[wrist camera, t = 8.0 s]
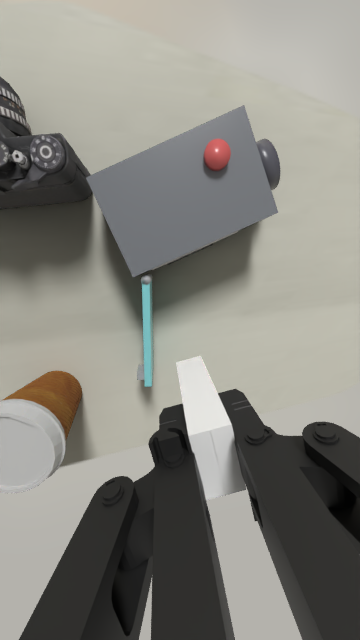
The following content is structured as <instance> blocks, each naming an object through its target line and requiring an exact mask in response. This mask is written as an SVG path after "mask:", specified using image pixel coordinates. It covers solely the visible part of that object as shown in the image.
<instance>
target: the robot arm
mask: <svg viewBox="0 0 360 640" xmlns="http://www.w3.org/2000/svg"><path fill="white" fill-rule="evenodd" d="M176 365H177V371H178V377H179V383H180V389H181V395H182V401H183V404H179V405H176V406H172V407H168V408H164V409H163V411H162V413H161V414H160V416H159V424H160V425H159V430H158V431H157V432H156V433H154V434H153V436H152V437H151V438H150V441H149V444H148V445H149V448H150V450H151V454H152V457H153V460H154V463H155V467H154V468H153V470H151V471H150V472H149V473H148V474H147V475H145V476H144V477H142V478H140V479H139V480H137V481H135V482H133V481H132V480H131V479H130V478H128V477H124V476H119V477H115V478H112V479H110V480H109V481H107V482H105V483H104V484H103V485H102V486H101V487H100V488H99V489H98V490H97V491H96V493H95V494H94V496H93V498H92V500H91V502H90V504H89V506H88V508H87V510H86V511H85V513H84V515H83V517H82V519H81V521H80V523H79V525H78V527H77V529H76V531H75V533H74V534H73V537H72V538H71V540H70V542H69V544H68V546H67V548H66V550H65V552H64V554H63V556H62V558H61V560H60V562H59V563H58V565H57V567H56V569H55V571H54V573H53V575H52V577H51V579H50V581H49V583H48V585H47V587H46V589H45V590H44V592H43V594H42V596H41V598H40V600H39V602H38V604H37V606H36V608H35V610H34V612H33V614H32V616H31V618H30V619H29V621H28V623H27V625H26V627H25V629H24V631H23V633H22V635H21V637H20V639H19V640H139V635H140V630H141V626H142V621H143V616H144V611H145V607H146V602H147V597H148V592H149V588H150V583H151V578H152V619H151V640H235V637H234V633H233V627H232V622H231V618H230V613H229V608H228V603H227V598H226V593H225V588H224V583H223V578H222V573H221V568H220V563H219V559H218V553H217V548H216V543H215V538H214V534H213V529H212V524H211V519H210V514H209V511H208V507H207V503H206V500H209V499H213V498H217V497H221V496H224V495H227V494H231V493H235V492H239V491H242V490H246V487H247V489H248V492H249V496H250V501H251V506H252V510H253V515H254V519H255V521H258V523H259V526H260V529H261V531H262V534H263V536H264V539H265V542H266V545H267V547H268V550H269V552H270V555H271V558H272V560H273V563H274V565H275V568H276V571H277V574H278V576H279V578H280V581H281V584H282V586H283V589H284V592H285V595H286V597H287V600H288V602H289V605H290V608H291V610H292V613H293V616H294V618H295V621H296V624H297V626H298V629H299V632H300V634H301V637H302V639H303V640H360V438H359V437H357V436H356V435H354V434H352V433H351V432H349V431H347V430H346V429H344V428H342V427H340V426H338V425H336V424H334V423H329V422H315V423H312V424H309V425H307V426H306V427H305V428H304V430H303V432H302V435H303V436H283V435H278V434H276V433H275V432H274V431H273V430H272V429H271V428H270V427H267V426H265V425H264V424H263V422H262V421H261V419H260V418H259V416H258V415H257V413H256V412H255V410H254V409H253V407H252V406H251V404H250V403H249V401H248V400H247V398H246V396H245V395H244V393H242V392H240V391H239V390H237V389H233V390H229V391H225V392H222V393H217V391H216V389H215V386H214V384H213V382H212V380H211V377H210V375H209V373H208V371H207V369H206V366H205V364H204V362H203V360H202V358H201V356H198V357H194V358H191V359H187V360H183V361H179V362H176ZM245 484H246V486H245Z"/></svg>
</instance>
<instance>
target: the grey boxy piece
mask: <svg viewBox="0 0 360 640" xmlns="http://www.w3.org/2000/svg"><path fill="white" fill-rule="evenodd" d="M86 179H87V181H88V183H89V185H90V187H91V189H92V192H93V194H94V196H95V198H96V200H97V202H98V204H99V206H100V208H101V211H102V213H103V215H104V217H105V219H106V221H107V223H108V225H109V228H110V230H111V232H112V234H113V236H114V238H115V240H116V242H117V244H118V247H119V249H120V251H121V253H122V255H123V257H124V259H125V261H126V263H127V266H128V268H129V270H130V272H131V274H132V276H133V277H135V276H138V275H140V274H142V273H145V272H147V271H149V270H151V269H152V270H154V269H156V268H159V267H161V266H163V265H165V264H167V265H168V264H170V263H173V262H175V261H177V260H179V259H182V258H184V257H186V256H188V255H190V254H193V253H195V252H197V251H199V250H202V249H204V248H206V247H208V246H211V245H213V243H215V242H217V241H219V240H221V239H224V238H226V237H228V236H230V235H233V234H235V233H237V232H238V231H239V230H241V229H243V228H245V227H248V226H250V225H252V224H254V223H256V222H259V221H261V220H263V219H265V218H267V217H269V216H272V215H274V214H276V213H278V210H277V207H276V204H275V201H274V198H273V195H272V192H271V190H273V189H275V188H276V187H277V185H278V183H279V180H280V163H279V158H278V155H277V152H276V150H275V148H274V146H273V144H272V143H271V142H270V141H269V140H267V139H262V140H260V141H258V142H256V141H255V138H254V135H253V132H252V129H251V126H250V122H249V119H248V116H247V113H246V110H245V107H244V105H243V106H241V107H239V108H237V109H235V110H232V111H230V112H228V113H226V114H224V115H222V116H219V117H217V118H215V119H213V120H211V121H208V122H206V123H204V124H202V125H200V126H198V127H195V128H193V129H191V130H189V131H187V132H184V133H182V134H180V135H178V136H176V137H174V138H171V139H169V140H167V141H165V142H163V143H160V144H158V145H156V146H154V147H152V148H149V149H147V150H145V151H143V152H141V153H139V154H136V155H134V156H132V157H130V158H128V159H125V160H123V161H121V162H119V163H117V164H115V165H112V166H110V167H108V168H106V169H104V170H101V171H99V172H97V173H95V174H93V175H91V176H88V177H86Z"/></svg>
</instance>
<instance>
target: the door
mask: <svg viewBox="0 0 360 640" xmlns="http://www.w3.org/2000/svg"><path fill="white" fill-rule="evenodd" d="M152 279H153V277H152V275H151V274H146V275H144V276H143V277H142V278H141V283H142V305H143V342H144V364H141V365H139V366H138V370H137V380H145V387H148V386H152V378H153V315H152Z"/></svg>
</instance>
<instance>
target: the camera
mask: <svg viewBox="0 0 360 640" xmlns="http://www.w3.org/2000/svg"><path fill="white" fill-rule="evenodd" d="M88 176H91V175H90V173H89V172H88V170H87V168H85V166H84V165H83V164H82V162H81V161H80V159H79V158H78V156H77V155H76V154H75V152H74V150H73V149H72V147H71V146H70V145H69V143H68V142H67V141H66V139H65V138H64V137H63V135H62V134H60V133H56V134H41V135H32V134H31V129H30V126H29V124H28V123H27V121H26V116H25V110H24V106H23V104H22V103H21V101H20V98H19V96H18V95H17V93H16V92H15V91H14V90H13V89H12V87H11V86H10V85H9V83H7V82H6V81H5V80H4V79H2V78H1V77H0V209H7V208H16V207H24V206H35V205H45V204H56V203H66V202H74V201H81V200H85V199H87V198H88V197H89V196H90V195H91V192H92V189H91V187H90V185H89V183H88V181H87V179H86V177H88Z"/></svg>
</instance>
